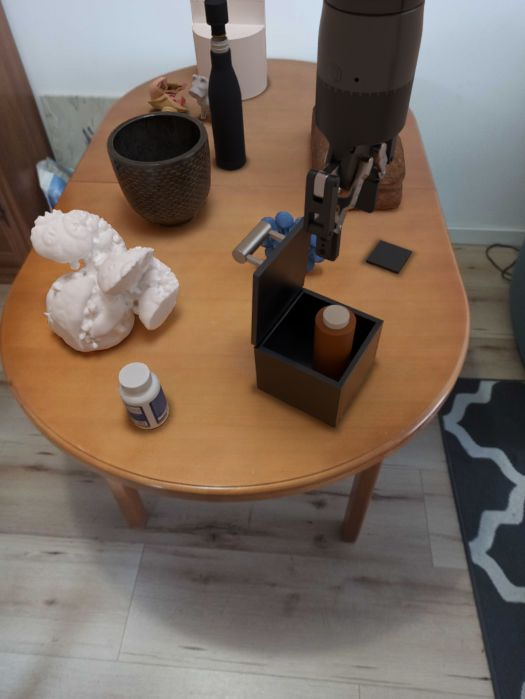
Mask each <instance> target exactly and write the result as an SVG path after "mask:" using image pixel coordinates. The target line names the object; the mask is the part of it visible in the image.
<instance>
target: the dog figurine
mask: <svg viewBox="0 0 525 699" xmlns="http://www.w3.org/2000/svg"><path fill="white" fill-rule="evenodd" d="M191 76H192V82H191V83H190V84H191V85H190V88H189V90H188V92H187V93H188V95H189V96H190V97H191V98H193V99H195V100H196V104H197V105H198V106H199V107H200V112H201V113H200V117H199V119H200V120H205V119H206V118H207V112H208V111H209V112H210V108H209V100H208V84H209V77H210V76H209V77H208V79H207V78H206V77H204V76H198V74H195V73H193V74H192V75H191Z"/></svg>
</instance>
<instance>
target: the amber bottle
mask: <svg viewBox="0 0 525 699" xmlns="http://www.w3.org/2000/svg"><path fill="white" fill-rule="evenodd" d="M355 326H356V318H355V315H354V314H353V312H352V311H351V310H349V309H348V308H346V307H344V306H340V305H329V306H326V307H324V308H322V309H321V310H319V312H318V313H317V315H316V318H315V332H314V347H313V362H312V370H314V371H316V372H318V373H320V374H322V375H325V376H327V377H329V378H331V379H333V380H335V381H337V382H339V380H340V378H341V377H342V375H343V374H344V372H345V371H346V369H347V367H348V366H349V362H350V356H351V350H352V344H353V338H354V332H355Z"/></svg>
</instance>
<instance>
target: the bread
mask: <svg viewBox="0 0 525 699" xmlns="http://www.w3.org/2000/svg"><path fill="white" fill-rule="evenodd" d="M310 126H311V129H310V137H311V138H310V140H311V148H312V162H313V163H312V164H313V167H312V168H313V169H316V170H320V171H321V170H322V169H323V168H324V167H325V165H324V160H325V157H326V154H327V151H328V148H329V142H328V140H327V139H326V137H325V136H324V135H323V134H322V133H321V132H320V130H319V129H318V128H317V126H316V123H315V105H314V106H313V107H312V113H311V125H310ZM386 149H387V145H386ZM385 151H386V150H385ZM405 161H406V160H405V151H404V147H403V143H402V138H401V136H400V135H399V134H398V135H397V140H396V146H395V152H394V160H393V161H392V163H391V164H390V165H388V164H386V165H385V167H386V173H385V176H384V177H383V178H382V179H379V180H381V181H380V187H379V193H378V199H377V205H376V208H375V209H382V210H383V209H396V208H399V206H400V205H401V203H402V198H403V197H402V196H403V182H404V180H405V177H406V162H405ZM349 192H350V191H346V190H343V189H341V190H340V192H339V193H338V196H340V197H343V198H344V197H347V196H348V195H349ZM338 209H339V207H338V205H337V207H336V210H338ZM353 209H356V208H355V206H354V208H353Z"/></svg>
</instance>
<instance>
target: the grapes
mask: <svg viewBox="0 0 525 699" xmlns="http://www.w3.org/2000/svg"><path fill="white" fill-rule="evenodd" d="M302 217H303V216H298V217H297V218H295V219H294V216H293V215H292V214H291V213H289V212H288V211H284V210H283V211H278V212H277V213H276V214H275V216H274V218H273V217H271V216H264V217H263V218H261V219H260V222H261V221H265V222H267V223H269V224H270V226H271V227H272V230H273V231H276V232H278V233H280V234H282V235H284V236H286V235H287V234H288V233H289V232H290V231H291V230H292V229H293V228H294V226H295V225H296V224H297V223H298V222H299V221H300V220H301V218H302ZM279 243H280V242H279V241H277V240H275V239H272V238H270V237H268V238H267V239H266V240H265V241H264V243H263V244H262V245H261V246H260V247H261V248H264V256H265V258H267V257H268V256H269V255H270V254H271V252H272V251H273V250H274V249H275V248H276V247H277V246H278V245H279ZM324 261H326V259H324V258H321V257H319V256H317V254H316V235H313V234H312V235H311V241H310V248H309V255H308V261H307V268H306V273H307V272H311V271H313V270H314V268H315V267H316V264H321V263H323V262H324Z"/></svg>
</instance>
